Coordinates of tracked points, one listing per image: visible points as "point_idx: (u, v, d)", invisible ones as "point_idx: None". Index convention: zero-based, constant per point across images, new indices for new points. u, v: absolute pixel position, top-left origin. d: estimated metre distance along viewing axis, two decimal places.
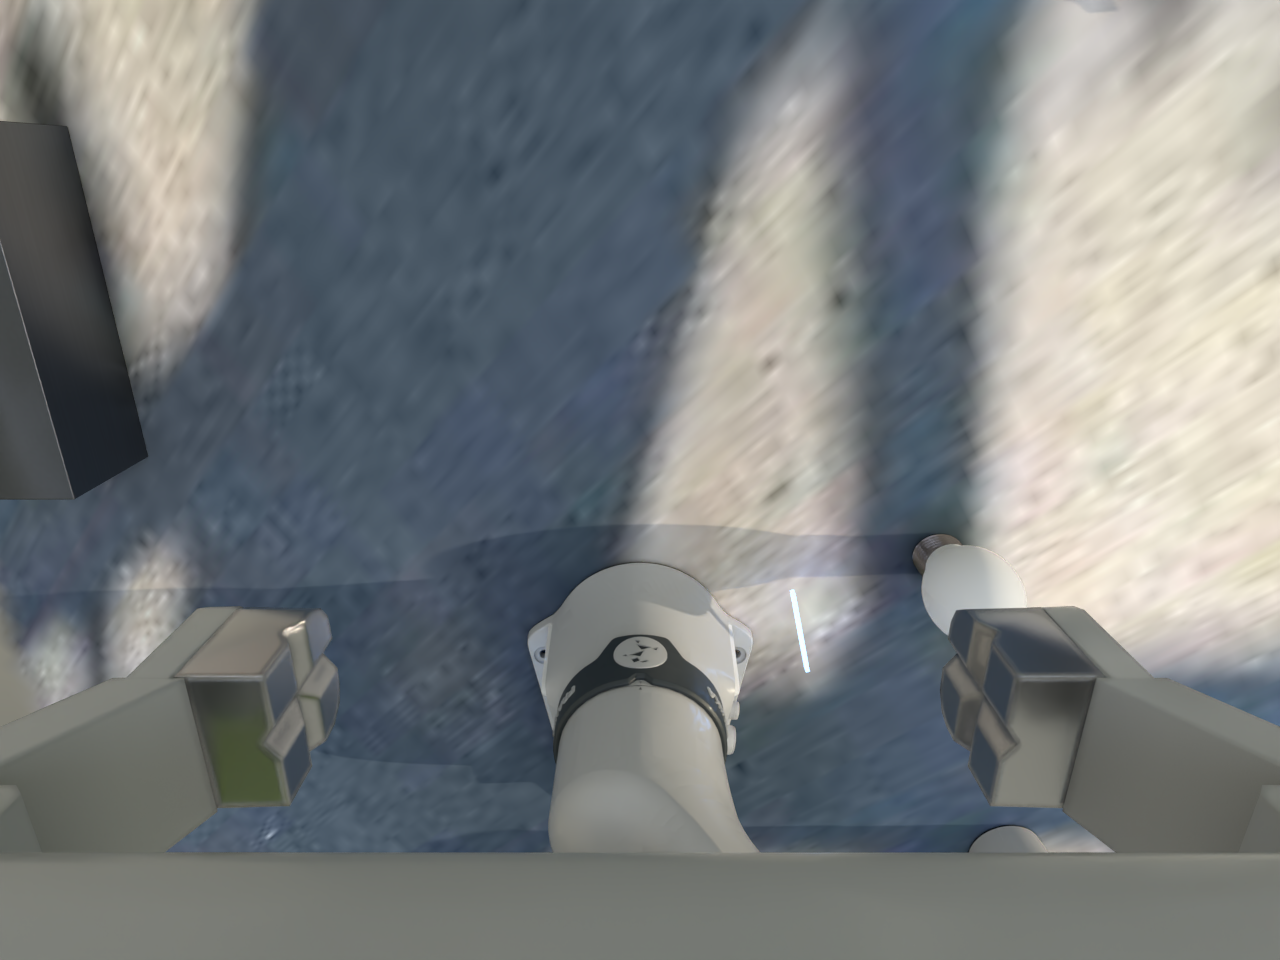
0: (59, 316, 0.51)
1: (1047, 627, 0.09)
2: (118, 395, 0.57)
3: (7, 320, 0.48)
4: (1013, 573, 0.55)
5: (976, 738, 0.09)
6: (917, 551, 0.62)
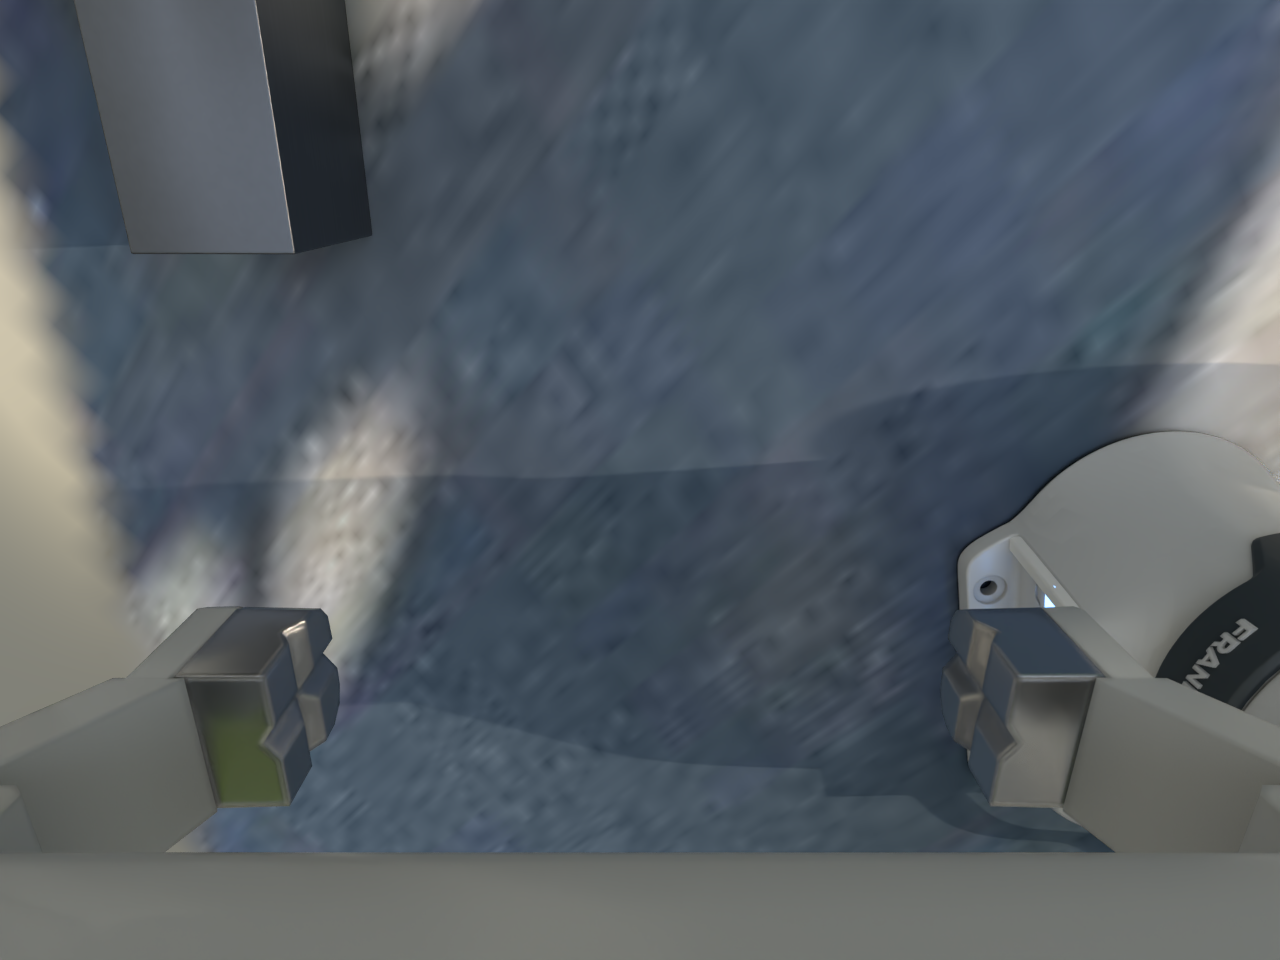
0: None
1: (1047, 627, 0.09)
2: (343, 101, 0.31)
3: None
4: None
5: (976, 738, 0.09)
6: None
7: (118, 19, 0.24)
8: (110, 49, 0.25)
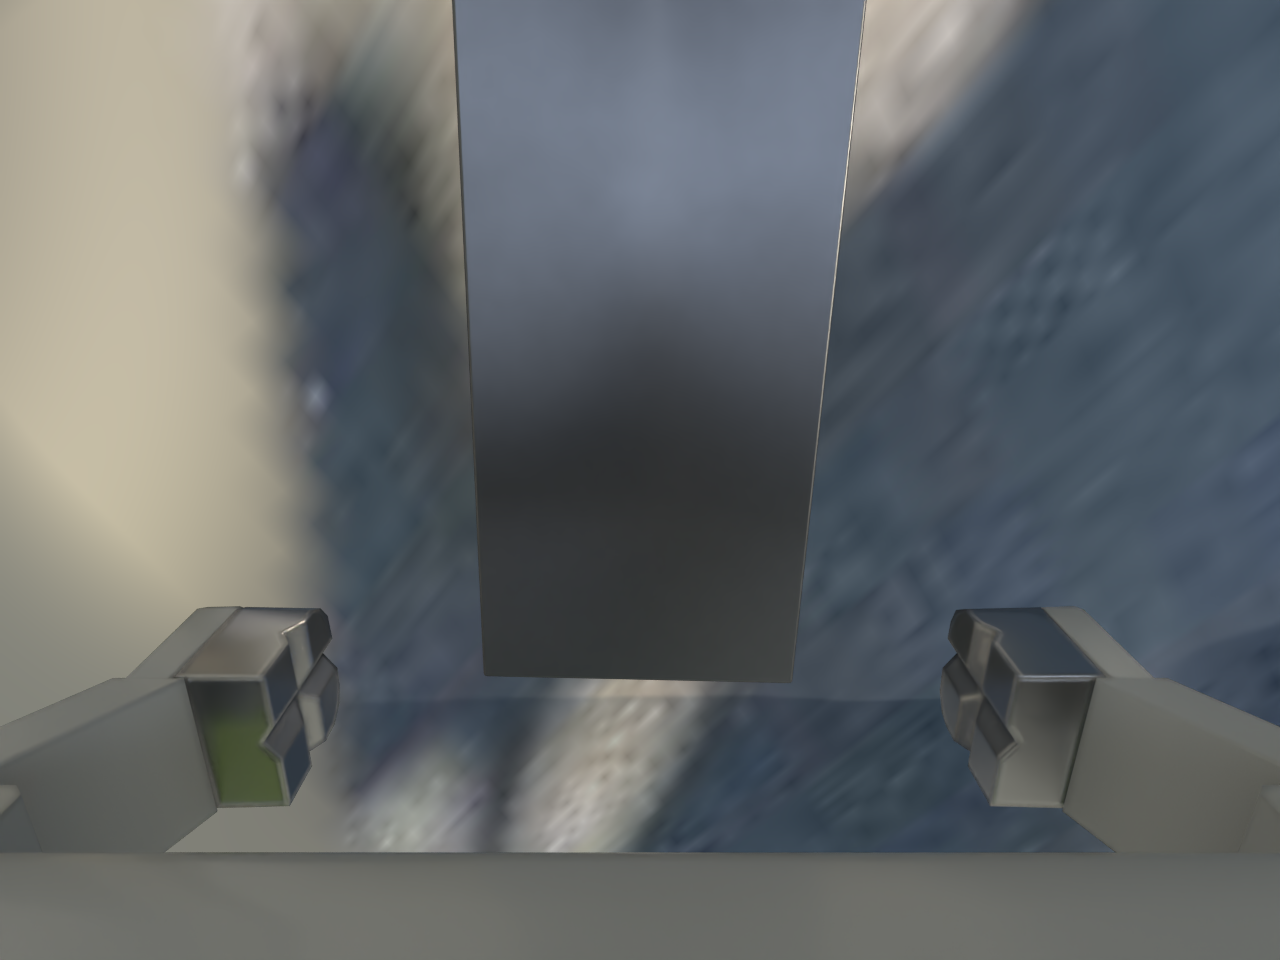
0: None
1: (1047, 627, 0.09)
2: None
3: None
4: None
5: (976, 738, 0.09)
6: None
7: (549, 282, 0.12)
8: (520, 335, 0.12)
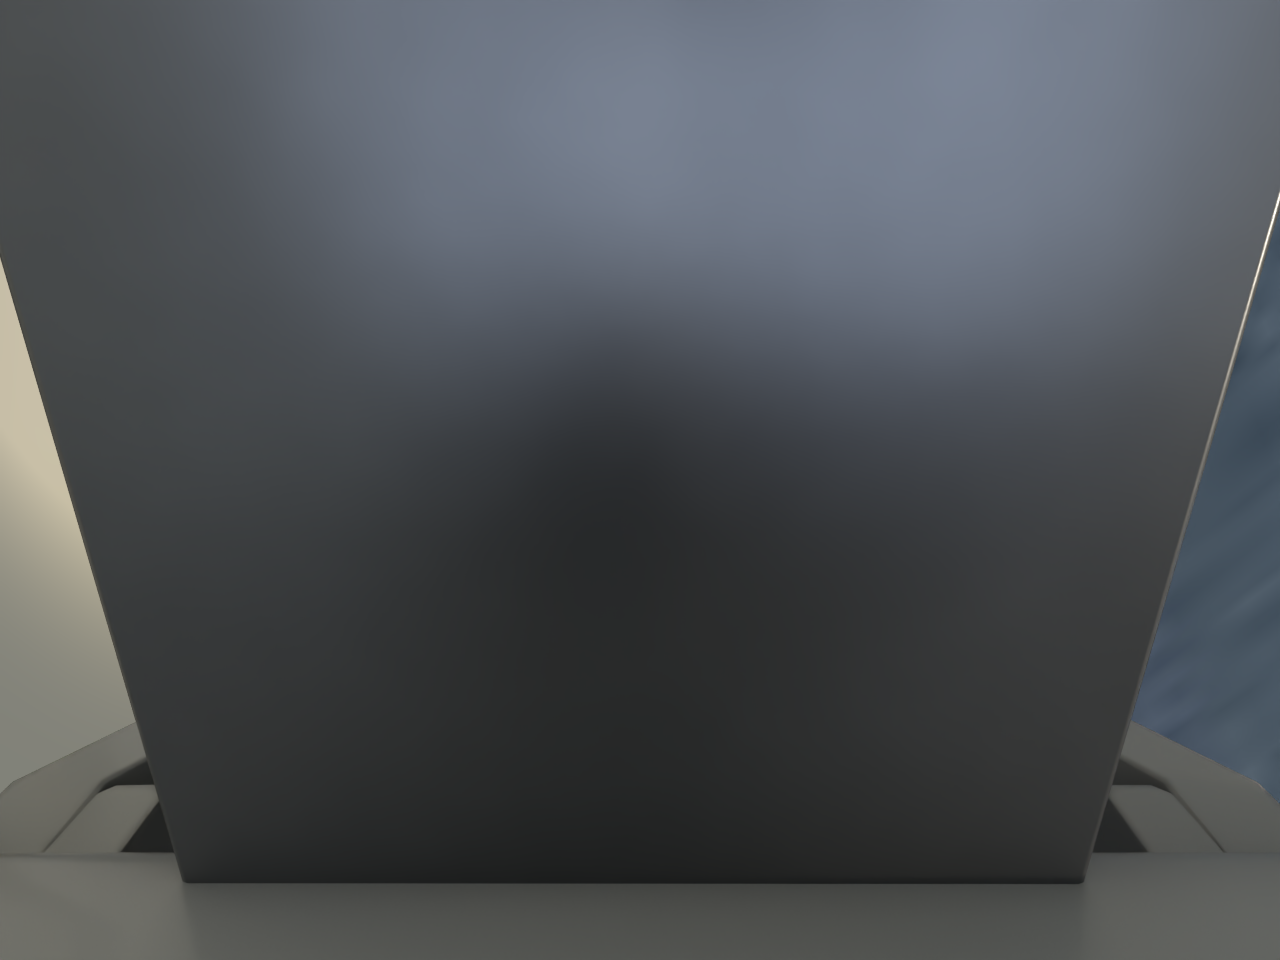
0: None
1: None
2: None
3: None
4: None
5: None
6: None
7: (350, 666, 0.04)
8: (291, 780, 0.05)
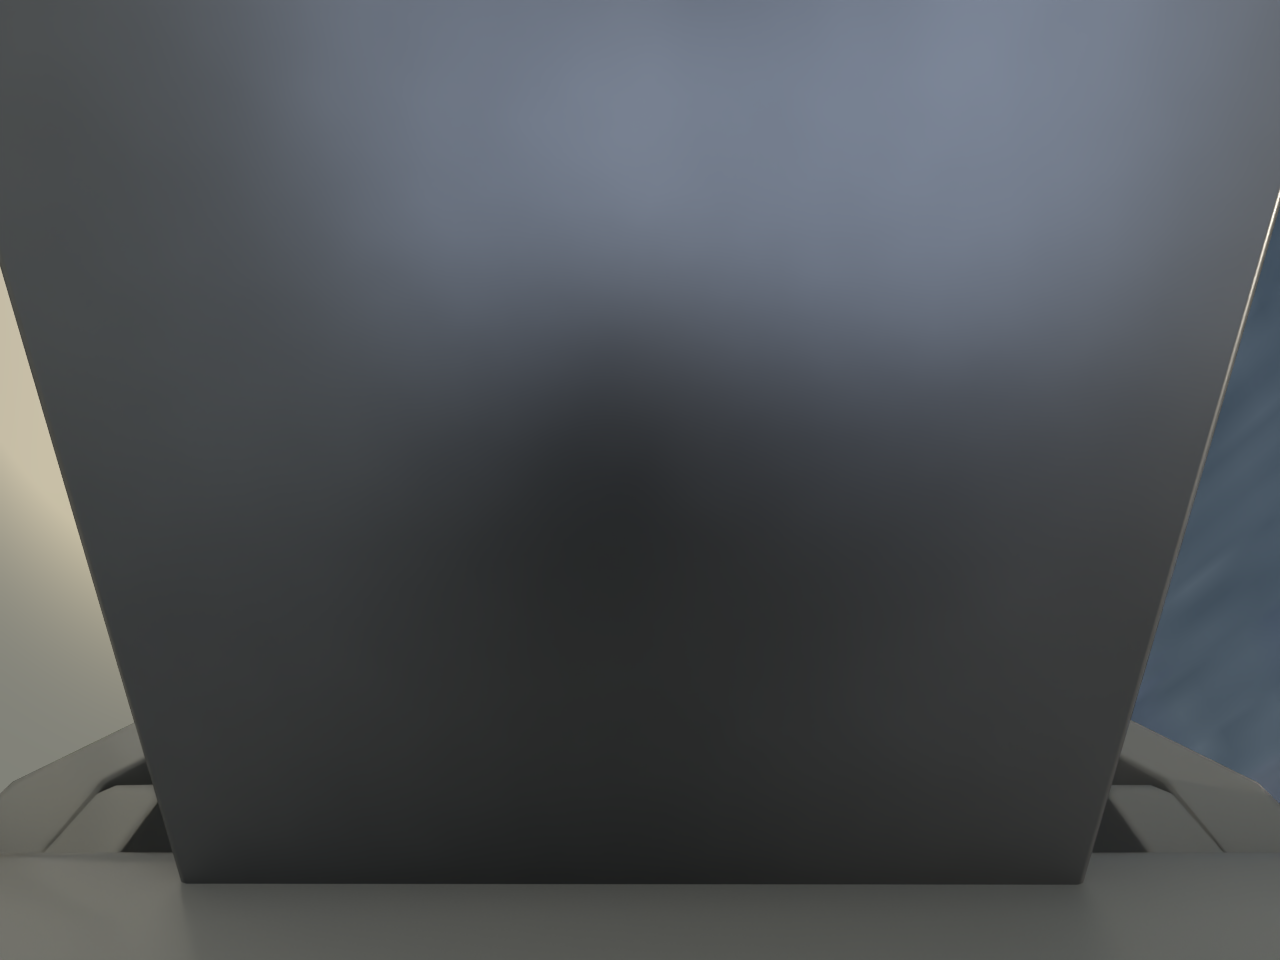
0: None
1: None
2: None
3: None
4: None
5: None
6: None
7: (348, 667, 0.04)
8: (290, 781, 0.05)
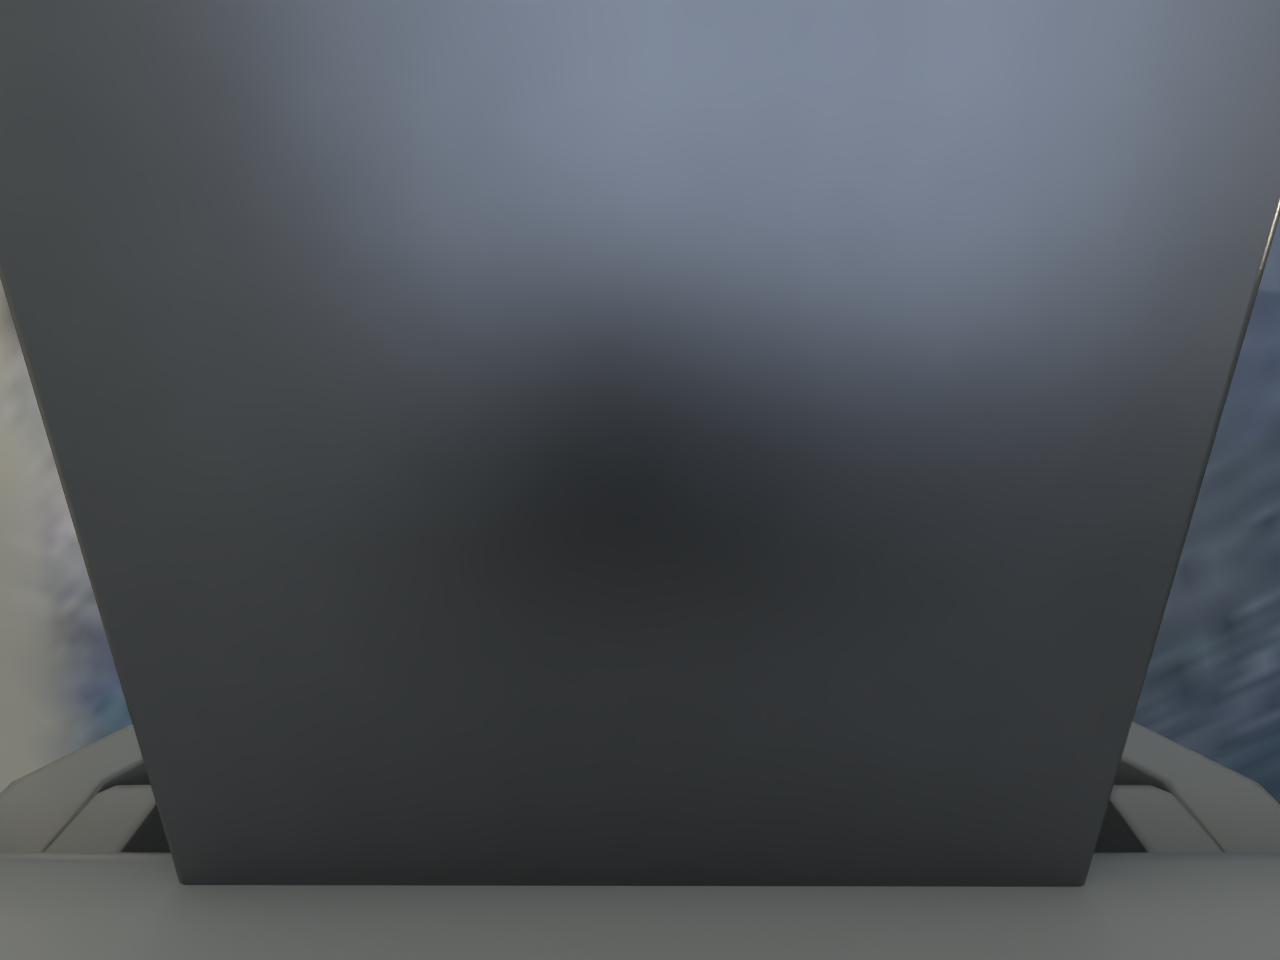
0: None
1: None
2: None
3: None
4: None
5: None
6: None
7: (347, 670, 0.04)
8: (288, 784, 0.05)
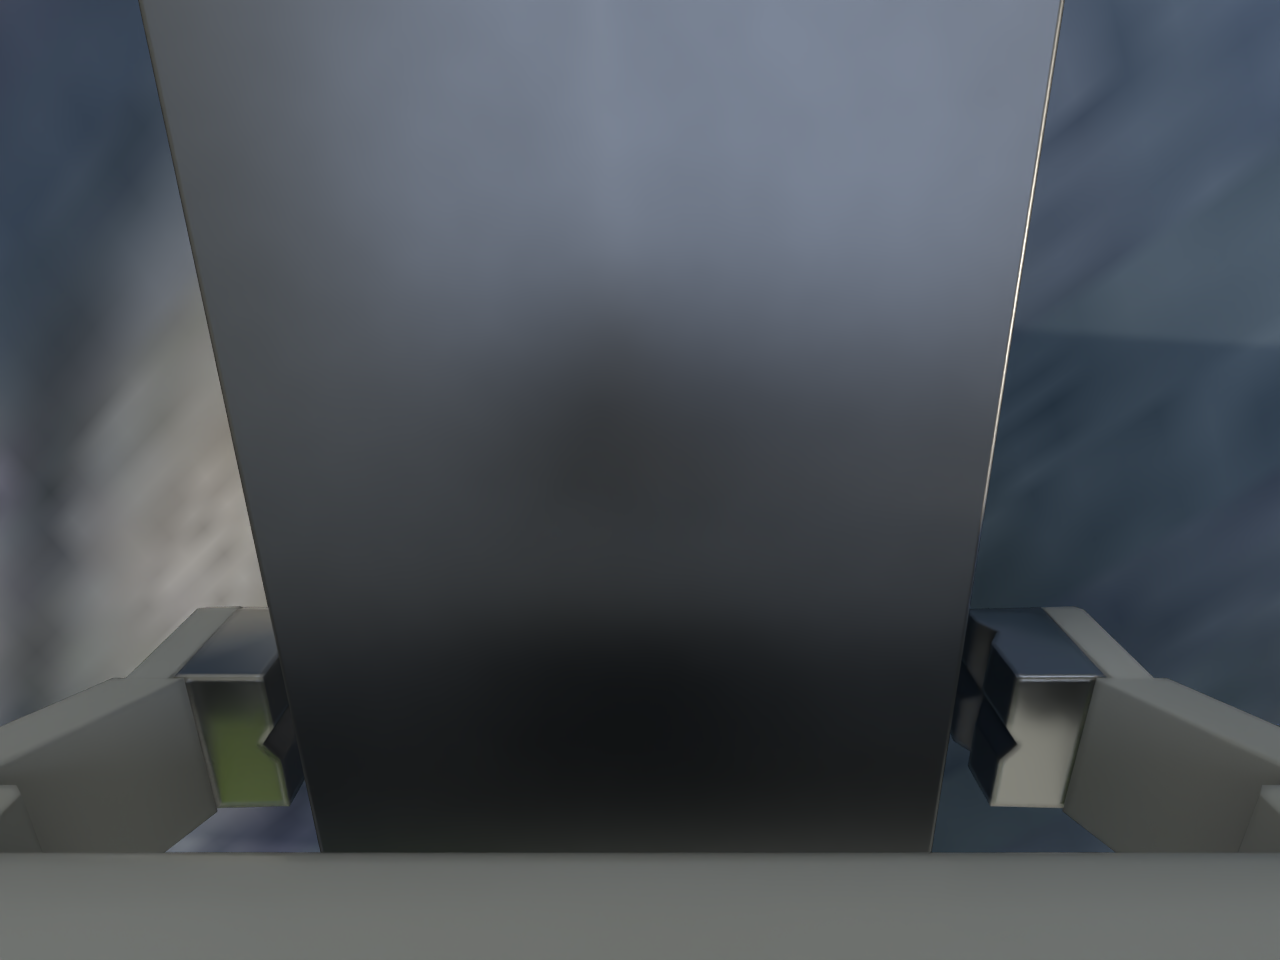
0: None
1: (1047, 627, 0.09)
2: None
3: None
4: None
5: (976, 738, 0.09)
6: None
7: (426, 620, 0.06)
8: (384, 703, 0.07)
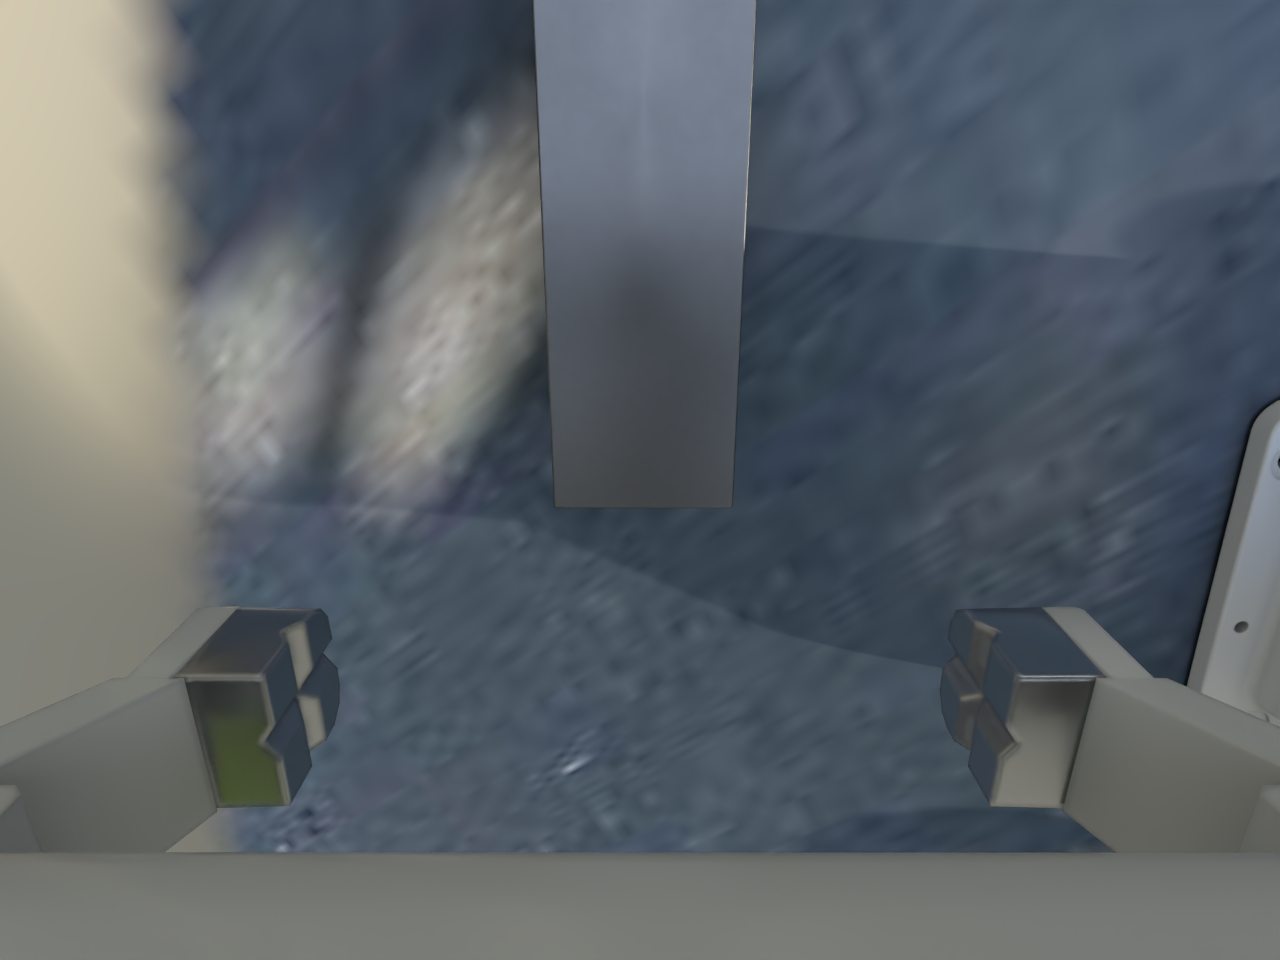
0: None
1: (1047, 627, 0.09)
2: None
3: (716, 86, 0.20)
4: None
5: (976, 738, 0.09)
6: None
7: (589, 280, 0.22)
8: (574, 309, 0.22)
